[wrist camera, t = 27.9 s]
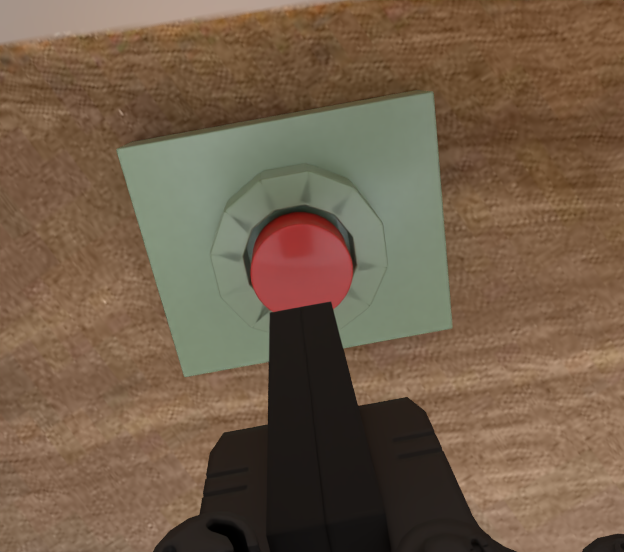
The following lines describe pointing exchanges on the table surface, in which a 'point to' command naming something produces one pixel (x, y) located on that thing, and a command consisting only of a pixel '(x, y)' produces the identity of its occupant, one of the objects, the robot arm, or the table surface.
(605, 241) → the table surface
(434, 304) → the control block
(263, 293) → the button
